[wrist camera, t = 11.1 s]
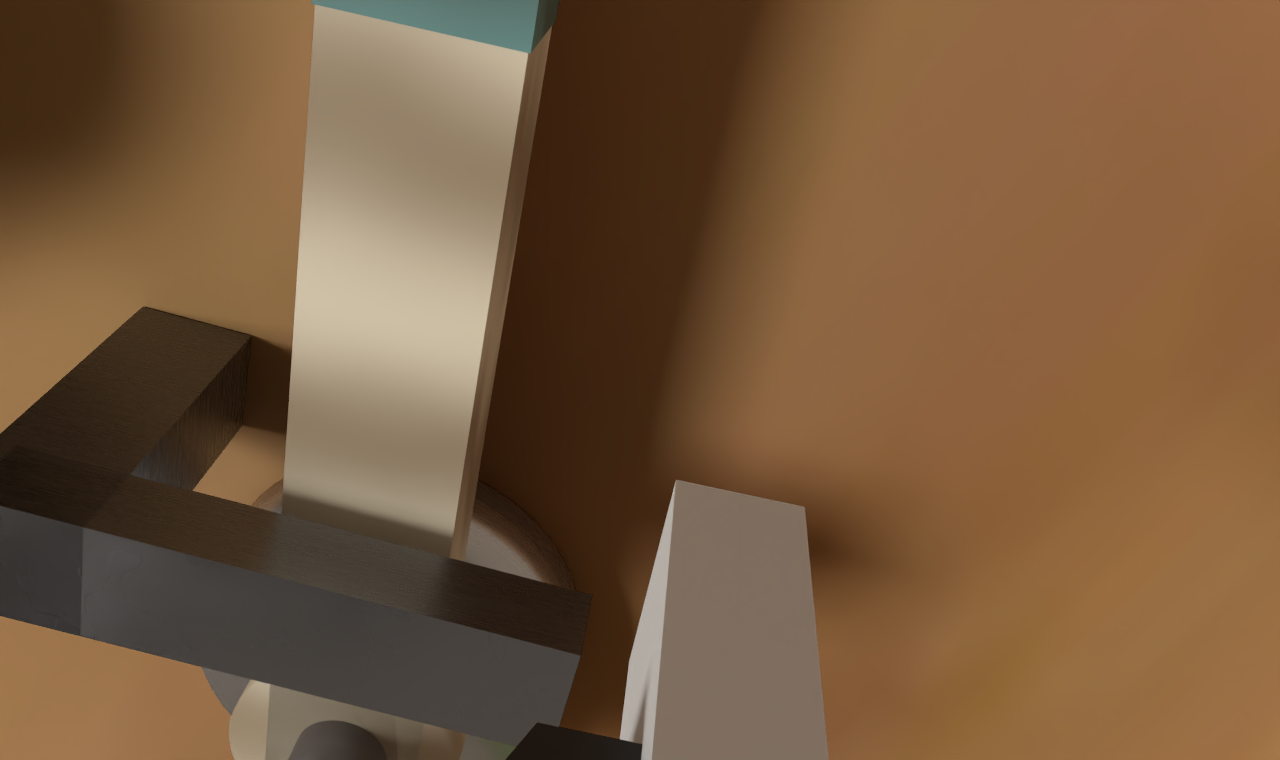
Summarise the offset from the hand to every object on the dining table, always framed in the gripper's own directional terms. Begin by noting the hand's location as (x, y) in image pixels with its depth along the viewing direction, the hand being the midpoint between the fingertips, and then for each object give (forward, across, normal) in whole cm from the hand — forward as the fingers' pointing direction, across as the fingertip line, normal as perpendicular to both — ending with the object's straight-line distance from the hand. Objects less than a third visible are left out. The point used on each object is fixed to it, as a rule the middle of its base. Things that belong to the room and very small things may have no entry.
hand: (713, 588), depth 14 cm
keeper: (+17, +8, +9) cm, 21 cm away
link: (+14, +6, +6) cm, 17 cm away
